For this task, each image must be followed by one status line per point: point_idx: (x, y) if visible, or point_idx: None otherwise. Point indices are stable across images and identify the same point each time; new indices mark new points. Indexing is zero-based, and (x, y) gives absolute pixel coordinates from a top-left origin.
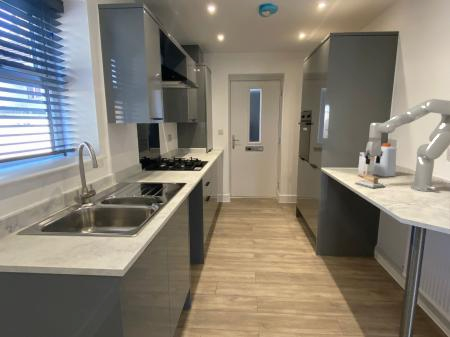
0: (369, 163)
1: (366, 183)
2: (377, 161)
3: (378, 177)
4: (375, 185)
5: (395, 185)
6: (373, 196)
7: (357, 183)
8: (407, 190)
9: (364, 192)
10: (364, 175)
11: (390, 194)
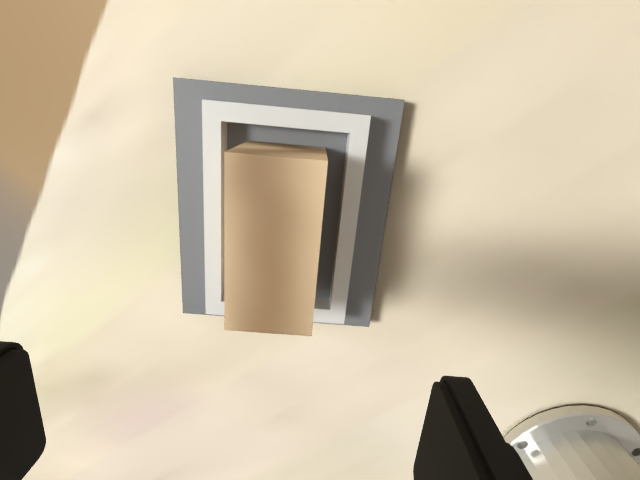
0: (8, 473)
1: (205, 229)
2: (441, 476)
3: (309, 335)
4: None
5: (532, 310)
6: None
7: (175, 118)
8: None
9: None
10: (233, 163)
11: (184, 456)
